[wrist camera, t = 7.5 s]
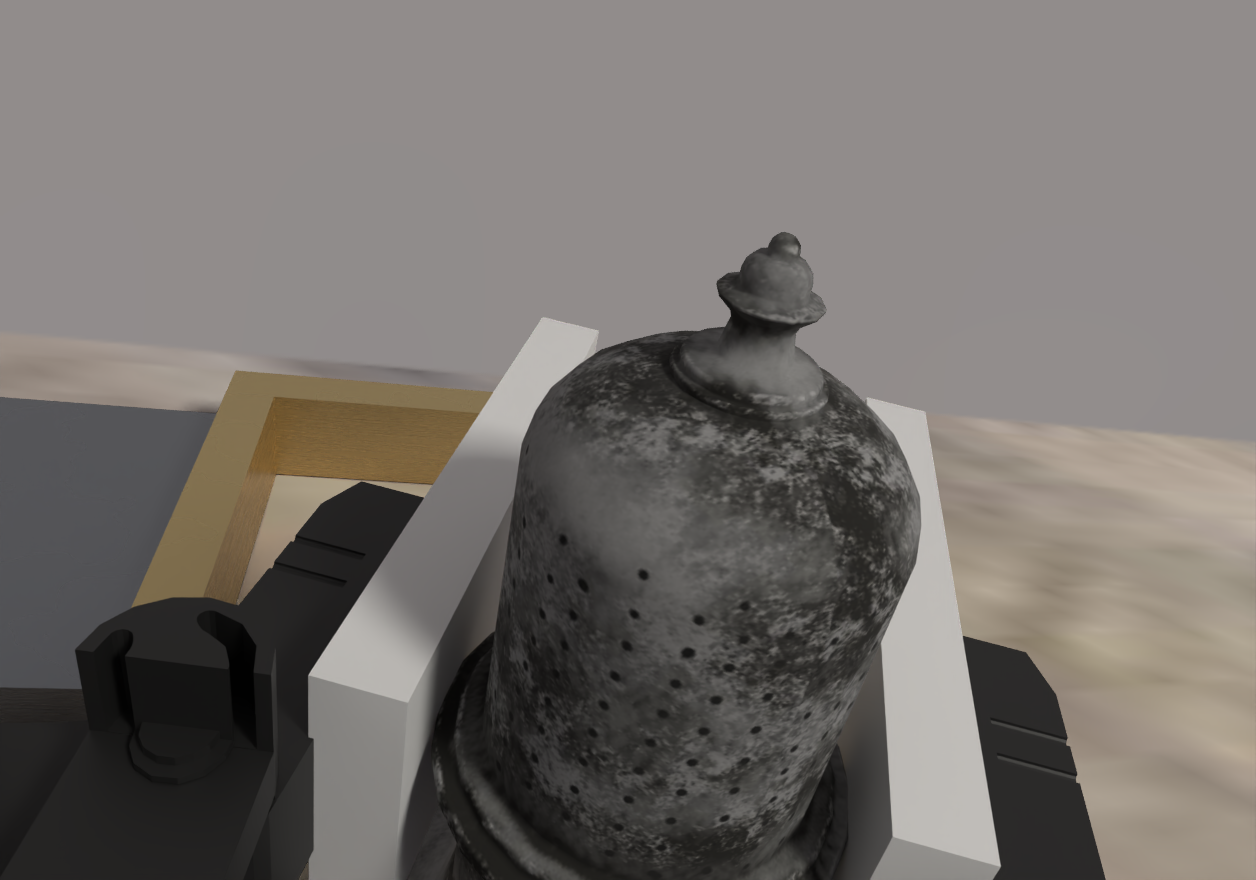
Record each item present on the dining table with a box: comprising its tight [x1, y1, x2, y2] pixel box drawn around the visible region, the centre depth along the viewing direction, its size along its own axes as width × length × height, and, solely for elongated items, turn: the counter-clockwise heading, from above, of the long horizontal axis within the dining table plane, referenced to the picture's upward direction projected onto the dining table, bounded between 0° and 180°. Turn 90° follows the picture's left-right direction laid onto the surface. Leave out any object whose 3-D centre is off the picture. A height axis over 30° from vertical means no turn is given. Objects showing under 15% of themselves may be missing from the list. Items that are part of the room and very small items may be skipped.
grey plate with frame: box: [0, 371, 493, 723], centre depth 23 cm, size 26×10×2 cm, turn 97°
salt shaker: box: [407, 232, 921, 880], centre depth 9 cm, size 6×6×12 cm
